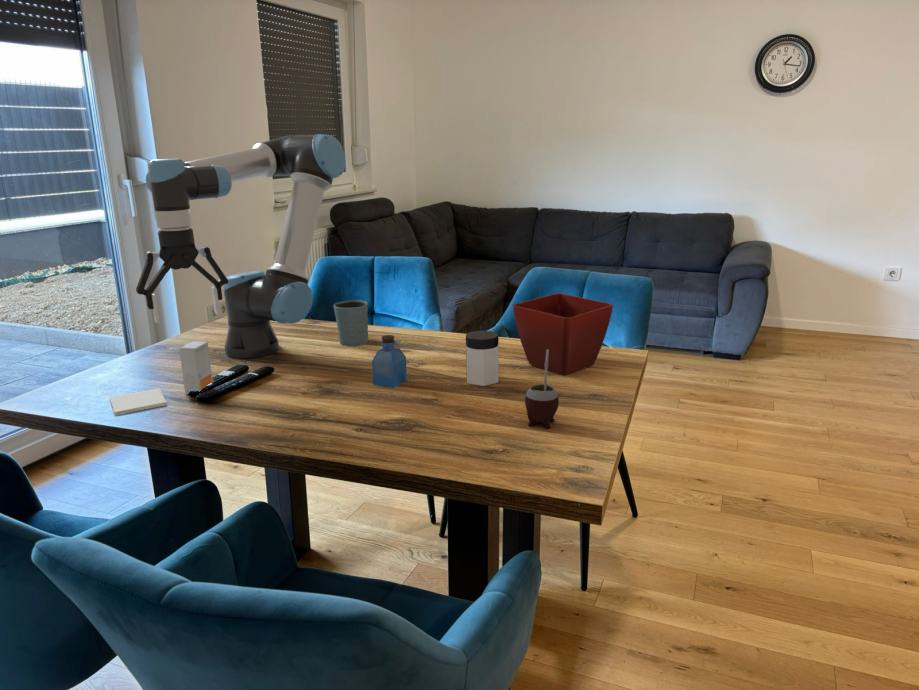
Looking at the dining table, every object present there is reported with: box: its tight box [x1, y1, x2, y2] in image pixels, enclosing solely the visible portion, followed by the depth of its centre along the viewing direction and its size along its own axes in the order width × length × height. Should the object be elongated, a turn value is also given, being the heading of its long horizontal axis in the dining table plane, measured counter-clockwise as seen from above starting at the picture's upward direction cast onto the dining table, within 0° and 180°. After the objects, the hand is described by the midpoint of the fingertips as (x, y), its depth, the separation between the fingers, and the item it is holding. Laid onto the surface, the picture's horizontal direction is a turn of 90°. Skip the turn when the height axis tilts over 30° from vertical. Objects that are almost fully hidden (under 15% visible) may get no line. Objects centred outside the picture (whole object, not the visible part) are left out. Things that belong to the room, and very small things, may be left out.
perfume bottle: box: [371, 334, 408, 389], centre depth 168 cm, size 6×6×12 cm
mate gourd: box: [524, 349, 560, 430], centre depth 142 cm, size 8×8×15 cm
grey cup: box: [333, 299, 369, 347], centre depth 202 cm, size 10×10×12 cm
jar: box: [465, 330, 500, 387], centre depth 168 cm, size 9×8×12 cm
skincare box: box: [178, 340, 213, 395], centre depth 164 cm, size 6×4×12 cm
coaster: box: [109, 388, 168, 416], centre depth 159 cm, size 11×11×1 cm
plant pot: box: [512, 292, 614, 376], centre depth 177 cm, size 19×19×17 cm
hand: (187, 317), depth 160 cm, fingers open, 13 cm apart
